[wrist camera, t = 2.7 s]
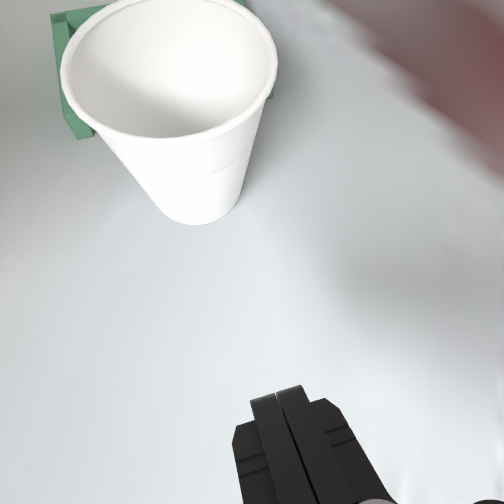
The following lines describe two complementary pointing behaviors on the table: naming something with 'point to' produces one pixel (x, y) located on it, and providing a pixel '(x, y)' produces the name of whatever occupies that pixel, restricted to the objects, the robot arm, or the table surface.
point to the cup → (175, 96)
